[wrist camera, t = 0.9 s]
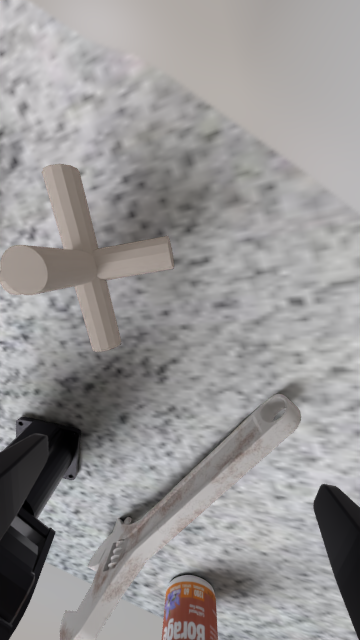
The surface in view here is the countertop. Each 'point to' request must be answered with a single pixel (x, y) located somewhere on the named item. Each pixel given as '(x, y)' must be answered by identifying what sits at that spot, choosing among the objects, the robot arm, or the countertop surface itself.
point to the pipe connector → (80, 259)
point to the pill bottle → (190, 610)
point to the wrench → (175, 514)
